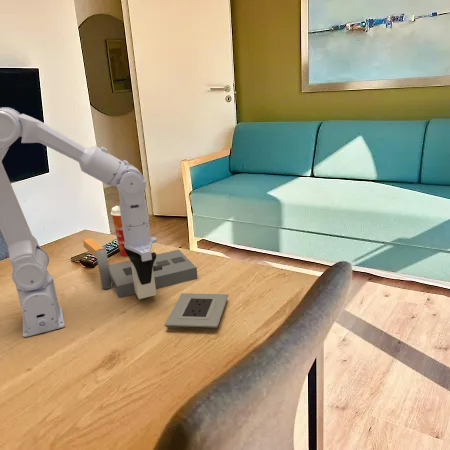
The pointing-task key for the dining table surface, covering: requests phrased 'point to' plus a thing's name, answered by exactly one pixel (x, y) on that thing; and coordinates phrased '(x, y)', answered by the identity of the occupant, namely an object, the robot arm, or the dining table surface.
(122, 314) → the dining table surface
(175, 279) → the power block
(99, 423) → the dining table surface
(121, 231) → the paper cup
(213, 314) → the electrical outlet
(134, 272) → the plug
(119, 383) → the dining table surface
